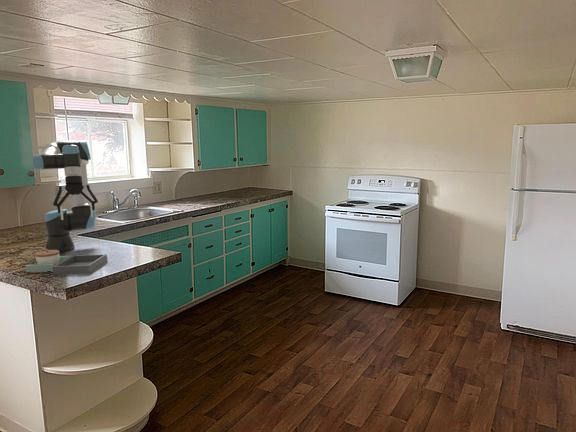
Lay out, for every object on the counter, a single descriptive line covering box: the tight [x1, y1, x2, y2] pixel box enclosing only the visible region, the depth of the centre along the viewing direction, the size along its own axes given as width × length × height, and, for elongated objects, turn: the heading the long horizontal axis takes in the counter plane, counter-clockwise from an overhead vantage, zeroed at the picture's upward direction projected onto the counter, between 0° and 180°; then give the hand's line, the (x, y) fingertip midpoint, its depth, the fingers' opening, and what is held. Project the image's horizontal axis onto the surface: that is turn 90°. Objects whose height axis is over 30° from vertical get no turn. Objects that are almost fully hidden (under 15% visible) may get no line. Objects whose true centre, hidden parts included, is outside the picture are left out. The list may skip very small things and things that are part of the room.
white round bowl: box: [34, 249, 61, 265], centre depth 222 cm, size 11×11×9 cm
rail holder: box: [25, 255, 71, 273], centre depth 222 cm, size 13×17×4 cm
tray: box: [52, 253, 108, 276], centre depth 218 cm, size 17×21×4 cm
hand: (77, 218), depth 223 cm, fingers open, 13 cm apart
